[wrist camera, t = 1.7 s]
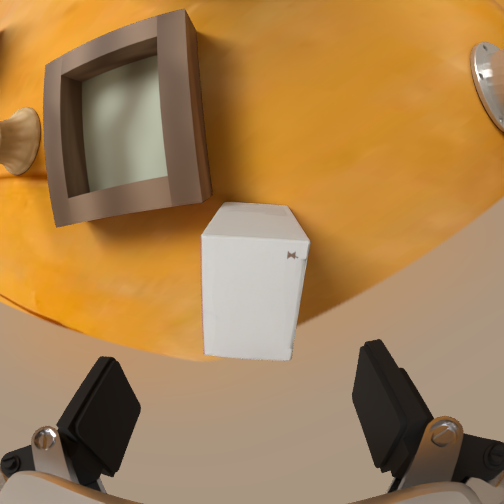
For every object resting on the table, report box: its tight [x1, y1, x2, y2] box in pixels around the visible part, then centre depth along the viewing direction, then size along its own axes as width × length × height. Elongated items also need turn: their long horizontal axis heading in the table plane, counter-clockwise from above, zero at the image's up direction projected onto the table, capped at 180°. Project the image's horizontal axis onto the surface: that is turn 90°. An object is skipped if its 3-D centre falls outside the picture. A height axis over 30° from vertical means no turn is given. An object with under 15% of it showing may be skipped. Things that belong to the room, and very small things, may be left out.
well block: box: [43, 9, 212, 228], centre depth 19 cm, size 14×16×4 cm
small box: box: [201, 202, 311, 361], centre depth 19 cm, size 8×6×10 cm
